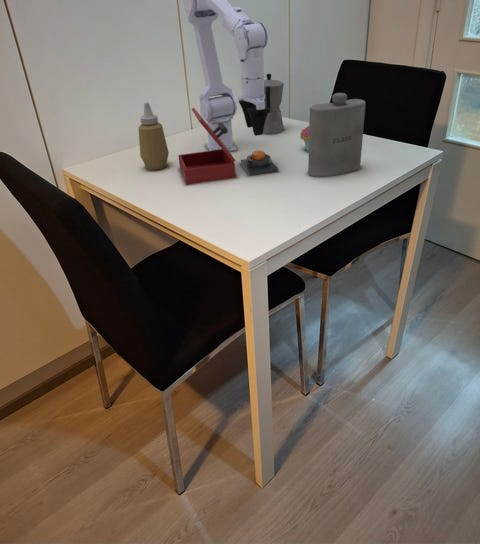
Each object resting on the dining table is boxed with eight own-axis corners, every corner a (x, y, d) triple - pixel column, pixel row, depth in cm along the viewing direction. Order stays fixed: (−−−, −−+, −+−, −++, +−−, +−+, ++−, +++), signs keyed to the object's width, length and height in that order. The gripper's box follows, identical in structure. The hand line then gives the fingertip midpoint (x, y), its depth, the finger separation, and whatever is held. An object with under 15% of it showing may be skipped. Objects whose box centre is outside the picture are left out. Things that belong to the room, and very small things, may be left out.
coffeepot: (257, 124, 170) (255, 70, 160) (284, 123, 168) (284, 68, 159) (254, 138, 157) (252, 80, 147) (283, 138, 156) (283, 79, 146)
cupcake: (330, 153, 141) (332, 112, 135) (301, 155, 142) (301, 113, 135) (326, 144, 148) (328, 104, 142) (298, 145, 149) (299, 105, 142)
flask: (314, 179, 126) (317, 100, 115) (305, 172, 130) (306, 95, 120) (365, 169, 129) (372, 92, 119) (354, 162, 134) (360, 87, 123)
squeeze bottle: (165, 172, 136) (155, 106, 126) (138, 171, 138) (126, 106, 128) (174, 161, 143) (165, 99, 133) (148, 161, 144) (138, 99, 135)
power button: (250, 157, 135) (250, 151, 134) (263, 155, 135) (262, 149, 134) (253, 161, 132) (253, 155, 131) (266, 160, 132) (266, 153, 132)
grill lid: (199, 121, 120) (211, 110, 119) (191, 109, 130) (203, 98, 129) (233, 162, 127) (245, 152, 127) (223, 148, 138) (234, 138, 137)
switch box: (240, 163, 138) (240, 153, 137) (267, 159, 140) (267, 149, 138) (249, 176, 130) (249, 165, 129) (277, 172, 132) (277, 161, 130)
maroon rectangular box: (186, 185, 128) (184, 170, 125) (180, 168, 138) (178, 154, 136) (235, 177, 130) (234, 163, 128) (225, 162, 140) (224, 148, 138)
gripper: (230, 73, 127) (234, 125, 135) (244, 84, 115) (246, 140, 123) (256, 70, 128) (258, 122, 136) (272, 81, 117) (273, 137, 124)
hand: (254, 130), depth 129 cm, fingers open, 7 cm apart
